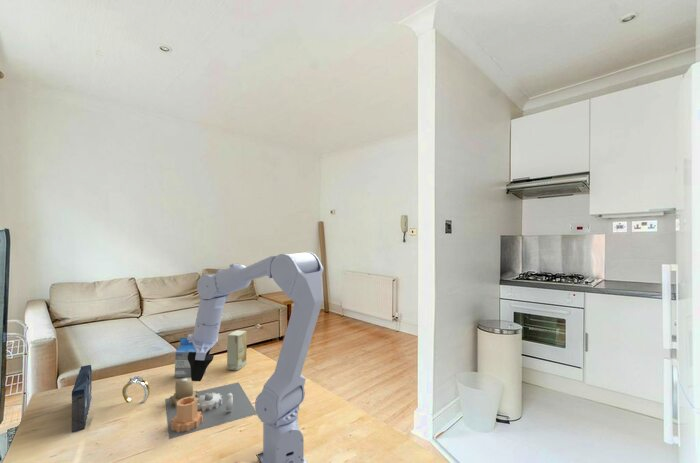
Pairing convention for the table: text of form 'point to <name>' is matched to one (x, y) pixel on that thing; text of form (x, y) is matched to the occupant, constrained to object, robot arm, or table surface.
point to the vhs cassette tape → (81, 398)
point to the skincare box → (236, 350)
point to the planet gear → (186, 415)
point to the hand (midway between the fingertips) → (198, 371)
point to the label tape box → (183, 358)
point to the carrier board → (210, 405)
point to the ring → (139, 381)
